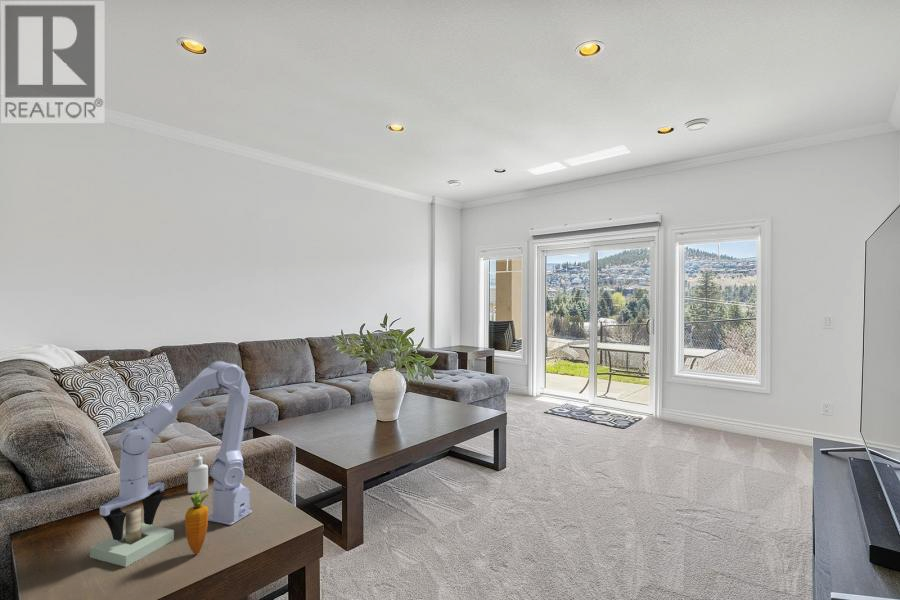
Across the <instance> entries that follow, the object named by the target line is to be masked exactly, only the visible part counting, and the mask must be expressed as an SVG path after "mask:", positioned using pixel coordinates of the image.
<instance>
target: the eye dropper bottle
mask: <svg viewBox="0 0 900 600" xmlns="http://www.w3.org/2000/svg"><path fill="white" fill-rule="evenodd" d="M208 487H209V466H208V464H204V463H203V456H201V454H200V453H196V457H194V458H193V465H192V466H190V467H189V468H188V470H187V493H188V494H196V493H197V492H198V491H200V493H202V492H205V491H207V490H208V489H209V488H208Z"/></svg>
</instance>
